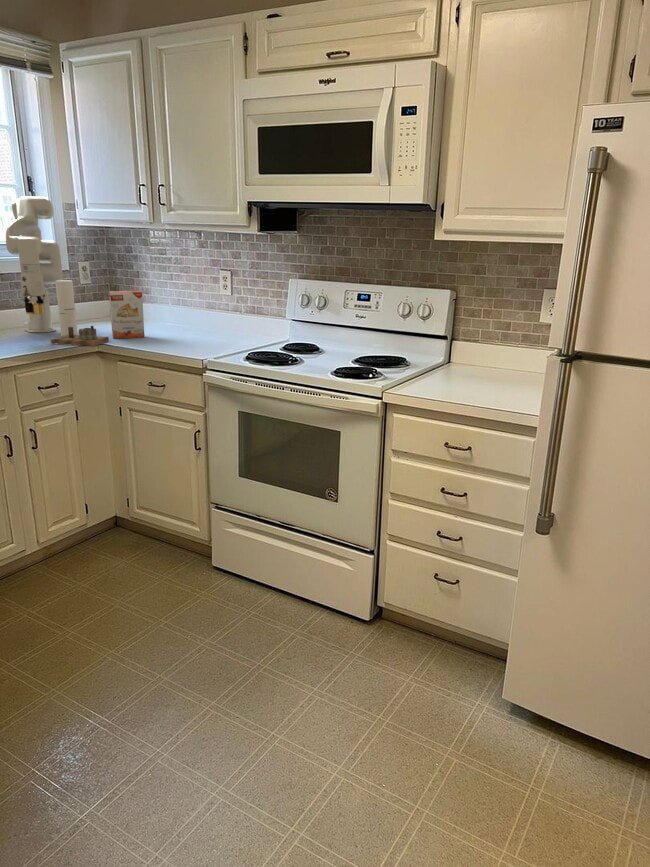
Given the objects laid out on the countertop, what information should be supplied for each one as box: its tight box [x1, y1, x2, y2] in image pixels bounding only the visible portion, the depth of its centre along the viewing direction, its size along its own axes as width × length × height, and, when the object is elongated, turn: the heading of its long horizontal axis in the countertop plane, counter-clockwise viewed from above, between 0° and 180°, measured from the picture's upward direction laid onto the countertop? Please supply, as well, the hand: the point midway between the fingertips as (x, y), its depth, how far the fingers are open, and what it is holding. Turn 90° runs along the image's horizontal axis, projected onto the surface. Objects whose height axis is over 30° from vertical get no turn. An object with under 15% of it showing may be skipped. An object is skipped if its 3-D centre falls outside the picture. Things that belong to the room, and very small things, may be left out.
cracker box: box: [108, 290, 146, 340], centre depth 294 cm, size 14×6×21 cm, turn 112°
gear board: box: [50, 325, 110, 347], centre depth 280 cm, size 20×13×8 cm, turn 79°
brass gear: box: [25, 303, 45, 316], centre depth 275 cm, size 7×7×4 cm
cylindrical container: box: [55, 279, 79, 337], centre depth 293 cm, size 7×7×25 cm
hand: (35, 310), depth 275 cm, fingers closed on brass gear, 7 cm apart
